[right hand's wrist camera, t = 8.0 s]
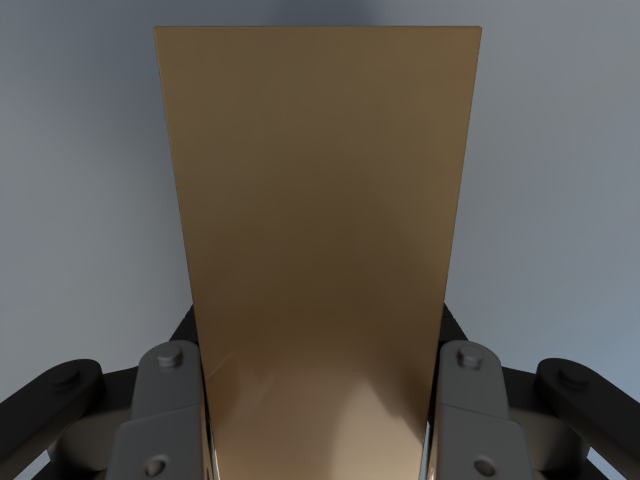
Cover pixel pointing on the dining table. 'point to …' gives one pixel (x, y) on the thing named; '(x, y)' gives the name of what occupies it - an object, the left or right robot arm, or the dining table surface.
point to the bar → (318, 234)
